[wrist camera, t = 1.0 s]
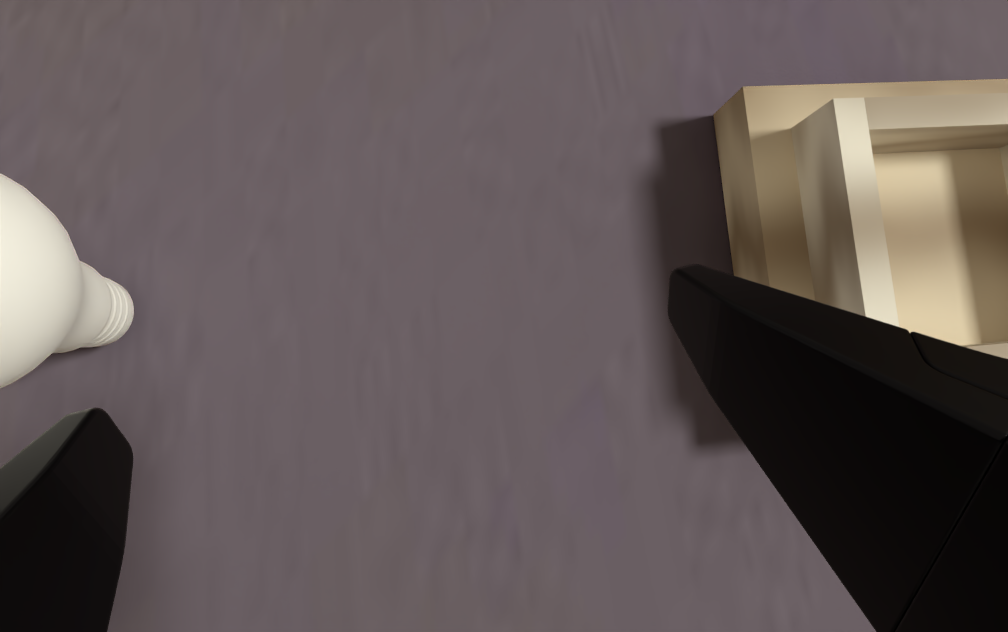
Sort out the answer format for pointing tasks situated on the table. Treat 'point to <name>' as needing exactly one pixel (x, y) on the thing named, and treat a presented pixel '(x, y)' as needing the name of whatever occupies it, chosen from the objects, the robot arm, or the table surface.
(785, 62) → the table surface
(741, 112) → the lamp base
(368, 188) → the table surface
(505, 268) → the table surface
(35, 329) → the lightbulb
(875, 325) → the robot arm
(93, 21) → the table surface
